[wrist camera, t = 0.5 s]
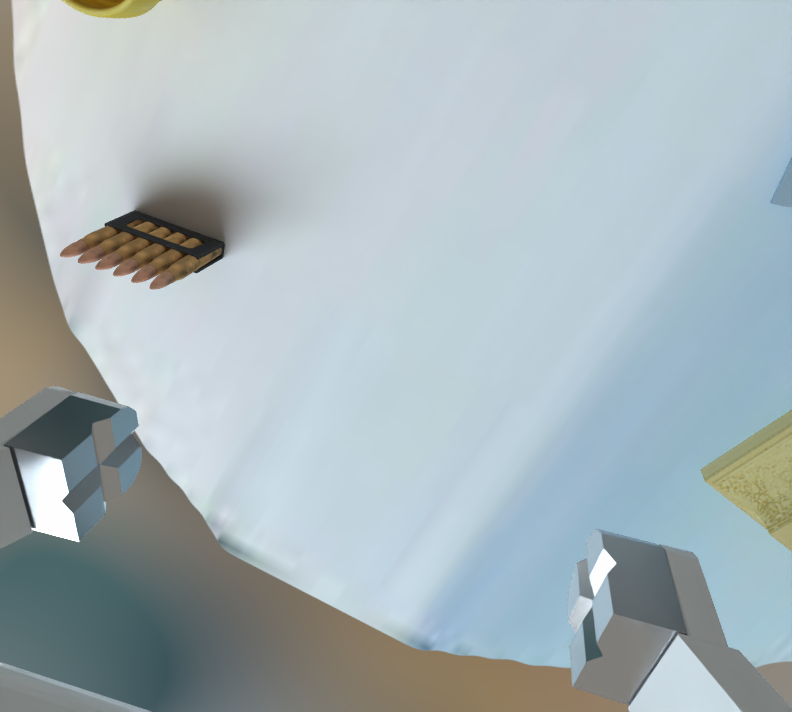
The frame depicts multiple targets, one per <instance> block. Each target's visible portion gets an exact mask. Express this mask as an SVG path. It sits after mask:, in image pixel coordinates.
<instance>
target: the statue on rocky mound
mask: <svg viewBox="0 0 792 712" xmlns="http://www.w3.org/2000/svg"><path fill="white" fill-rule="evenodd" d="M701 472H702V475H703V477H704V480H705V482H707V483H708V484H709V485H710V486H712V487H713V488H714V489H716V490H717V491H718V492H719V493H721V494H722V495H723V496H725V497H726V498H727V499H728V500H730V501H731V502H732V503H734V504H735V505H736V506H737V507H739V508H740V509H741V510H743V511H744V512H745V513H746V514H748V515H749V516H750V517H752V518H753V519H754V520H755V521H757V522H758V523H759V524H761V525H762V526H763V527H764V528H766V529H767V530H768V532H769V534H770V535H771V536H772V537H774V538H775V539H776V540H778V541H779V542H780V543H781V544H783V545H784V546H785V547H787V548H788V549H789V550H790V551H792V410H791V411H789V412H788V413H786V414H785V415H783V416H782V417H780V418H778V419H777V420H775V421H774V422H772V423H771V424H769V425H768V426H766V427H765V428H763V429H762V430H760V431H759V432H757V433H756V434H754V435H753V436H751V437H750V438H748V439H746V440H745V441H743V442H742V443H740V444H739V445H737V446H736V447H734V448H733V449H731V450H730V451H728V452H727V453H725V454H724V455H722V456H721V457H719V458H718V459H716V460H714V461H713V462H711V463H710V464H708V465H707V466H705V467H704V468H702V469H701Z"/></svg>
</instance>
